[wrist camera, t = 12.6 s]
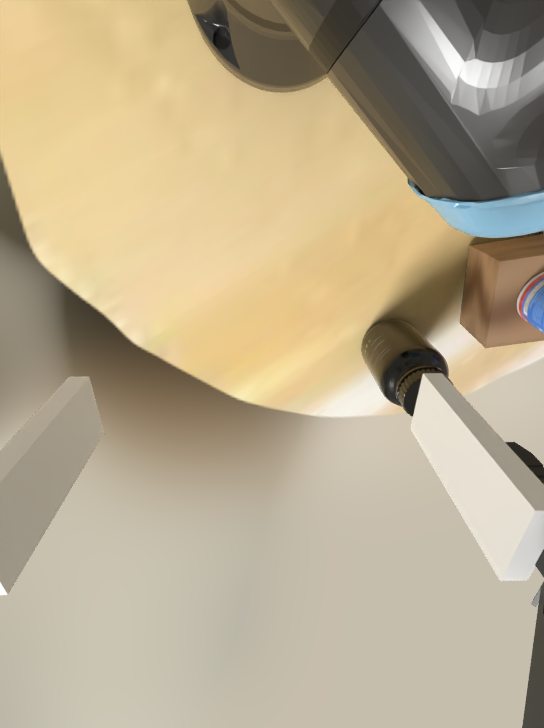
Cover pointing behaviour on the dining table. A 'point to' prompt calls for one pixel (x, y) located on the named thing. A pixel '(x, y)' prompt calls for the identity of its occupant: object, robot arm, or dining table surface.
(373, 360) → the supplement bottle
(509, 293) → the walnut block
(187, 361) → the dining table surface
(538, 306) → the pill bottle
